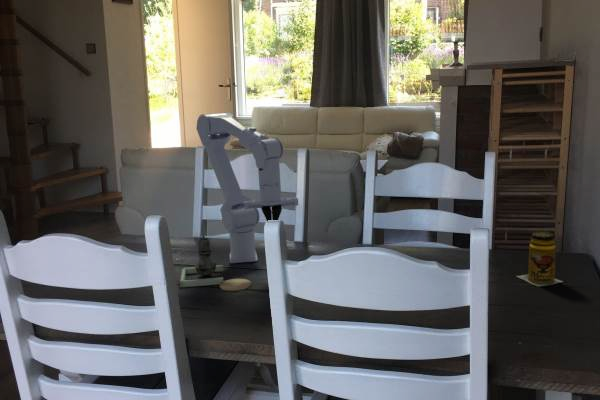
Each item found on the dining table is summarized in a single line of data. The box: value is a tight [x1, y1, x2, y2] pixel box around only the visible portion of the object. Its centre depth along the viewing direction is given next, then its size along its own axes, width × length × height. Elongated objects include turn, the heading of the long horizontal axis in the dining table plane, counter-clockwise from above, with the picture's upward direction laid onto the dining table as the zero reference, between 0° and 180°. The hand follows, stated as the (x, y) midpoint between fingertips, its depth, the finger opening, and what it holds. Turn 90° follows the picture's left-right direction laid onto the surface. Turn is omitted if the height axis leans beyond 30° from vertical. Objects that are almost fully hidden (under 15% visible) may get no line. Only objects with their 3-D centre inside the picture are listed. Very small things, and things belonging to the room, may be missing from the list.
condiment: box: [516, 231, 564, 287], centre depth 150 cm, size 7×8×12 cm
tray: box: [179, 264, 224, 288], centre depth 162 cm, size 12×11×2 cm
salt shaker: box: [194, 234, 217, 279], centre depth 161 cm, size 6×6×12 cm
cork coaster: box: [219, 278, 252, 292], centre depth 155 cm, size 8×8×1 cm
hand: (272, 233), depth 165 cm, fingers closed
